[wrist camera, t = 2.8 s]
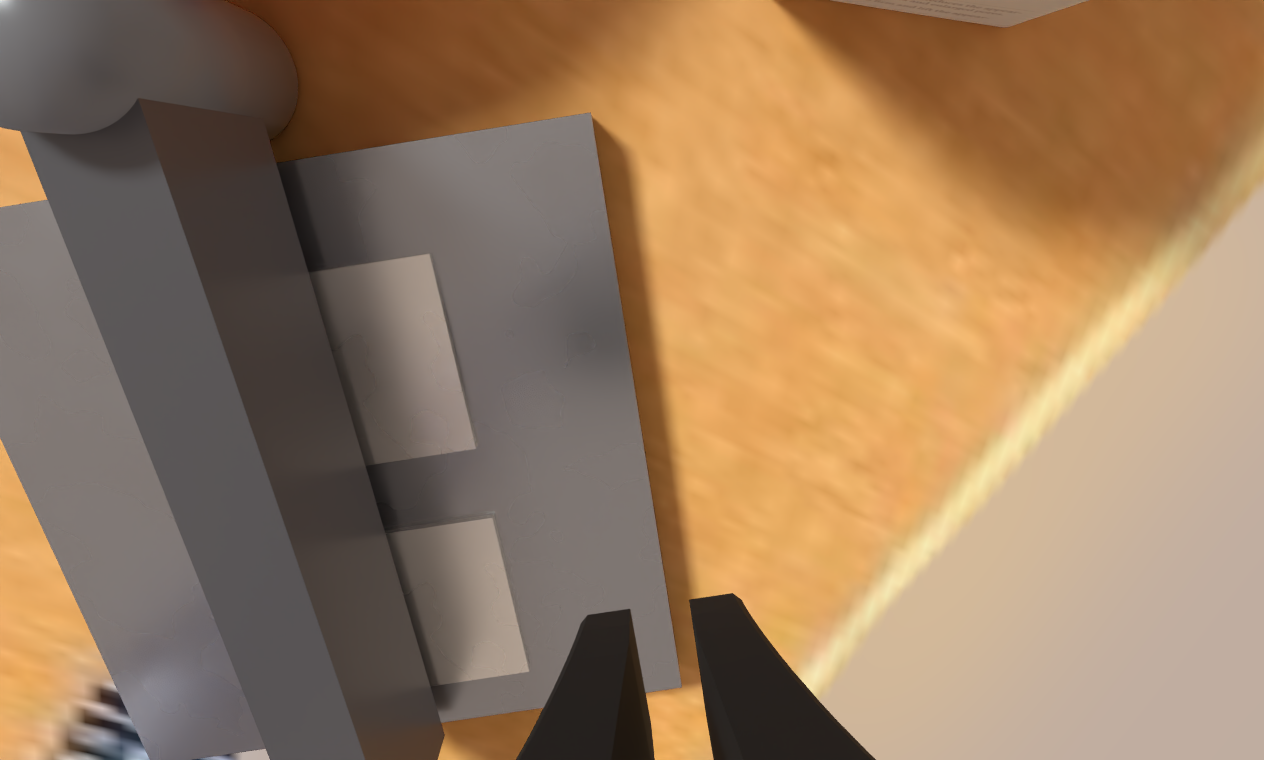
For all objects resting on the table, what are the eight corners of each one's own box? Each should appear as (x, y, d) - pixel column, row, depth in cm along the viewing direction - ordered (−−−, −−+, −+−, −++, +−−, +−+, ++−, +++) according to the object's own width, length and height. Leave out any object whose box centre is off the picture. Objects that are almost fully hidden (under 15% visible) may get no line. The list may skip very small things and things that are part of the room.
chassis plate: (678, 663, 21) (682, 692, 20) (173, 738, 21) (148, 770, 20) (591, 116, 16) (590, 112, 15) (-59, 220, 16) (-109, 223, 15)
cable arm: (142, 15, 15) (-153, -85, 9) (275, -6, 15) (63, -121, 9) (374, 715, 21) (282, 924, 15) (470, 701, 21) (415, 905, 15)
